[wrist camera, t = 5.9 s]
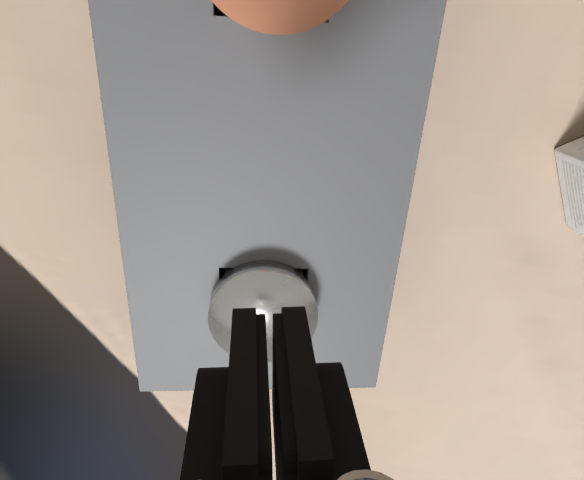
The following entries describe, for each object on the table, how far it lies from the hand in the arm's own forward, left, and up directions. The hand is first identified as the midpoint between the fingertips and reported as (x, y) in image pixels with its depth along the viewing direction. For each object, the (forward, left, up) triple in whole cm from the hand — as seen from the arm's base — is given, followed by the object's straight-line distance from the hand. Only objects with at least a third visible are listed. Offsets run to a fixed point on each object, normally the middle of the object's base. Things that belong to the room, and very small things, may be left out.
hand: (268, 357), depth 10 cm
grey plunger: (0, +6, -16) cm, 18 cm away
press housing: (0, -2, -17) cm, 17 cm away
